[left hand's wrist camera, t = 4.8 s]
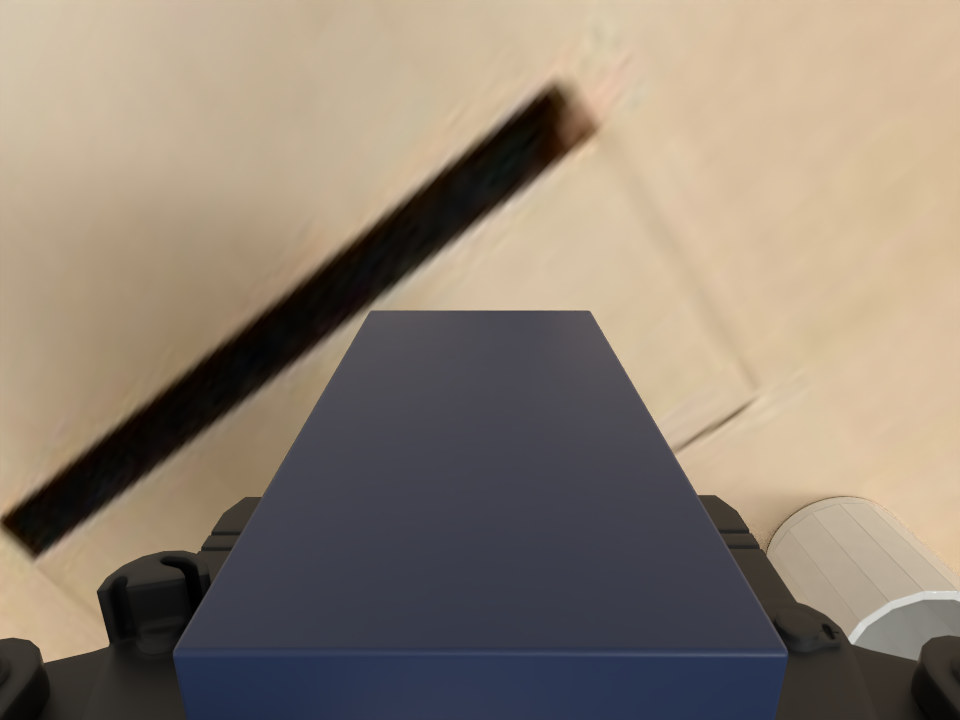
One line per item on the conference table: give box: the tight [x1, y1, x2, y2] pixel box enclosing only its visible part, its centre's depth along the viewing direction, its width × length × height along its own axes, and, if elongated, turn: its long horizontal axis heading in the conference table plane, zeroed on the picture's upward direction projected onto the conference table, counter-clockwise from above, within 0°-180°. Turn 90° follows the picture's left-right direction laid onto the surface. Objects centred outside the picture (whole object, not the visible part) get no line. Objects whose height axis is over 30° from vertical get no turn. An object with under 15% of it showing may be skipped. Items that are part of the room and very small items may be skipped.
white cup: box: [766, 497, 960, 661], centre depth 28 cm, size 6×6×6 cm
